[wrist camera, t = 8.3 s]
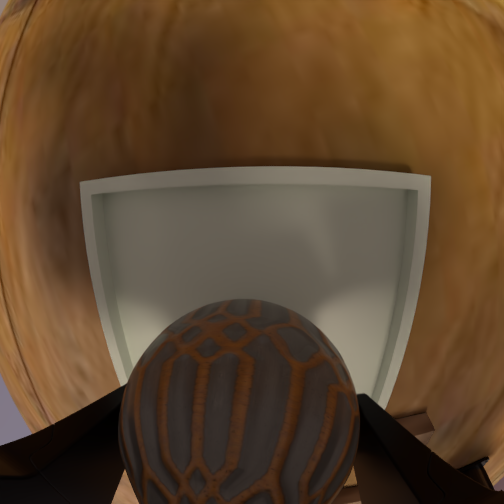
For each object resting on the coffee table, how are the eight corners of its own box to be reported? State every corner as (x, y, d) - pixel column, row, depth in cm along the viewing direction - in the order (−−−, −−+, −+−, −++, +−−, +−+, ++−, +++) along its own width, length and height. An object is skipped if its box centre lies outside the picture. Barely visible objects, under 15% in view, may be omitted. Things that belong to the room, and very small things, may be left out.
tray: (413, 174, 10) (430, 176, 9) (368, 419, 14) (373, 436, 13) (98, 180, 11) (79, 181, 10) (145, 411, 15) (137, 427, 14)
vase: (144, 289, 11) (-12, 454, 2) (323, 253, 10) (447, 505, 1) (199, 413, 12) (151, 567, 4) (341, 395, 11) (375, 571, 3)
